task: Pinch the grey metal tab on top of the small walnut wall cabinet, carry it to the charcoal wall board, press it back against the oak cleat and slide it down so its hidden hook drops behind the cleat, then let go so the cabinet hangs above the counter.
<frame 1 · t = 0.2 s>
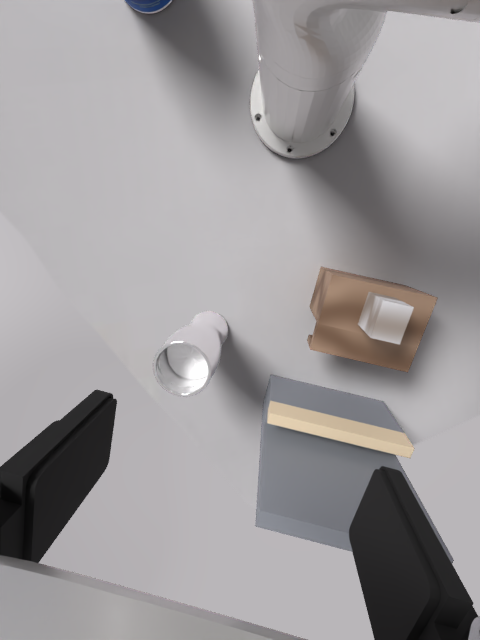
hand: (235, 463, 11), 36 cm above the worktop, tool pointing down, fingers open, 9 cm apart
beer glass: (209, 329, 48), on the worktop
walnut cabinet: (356, 296, 44), on the worktop
wall board: (321, 403, 49), on the worktop
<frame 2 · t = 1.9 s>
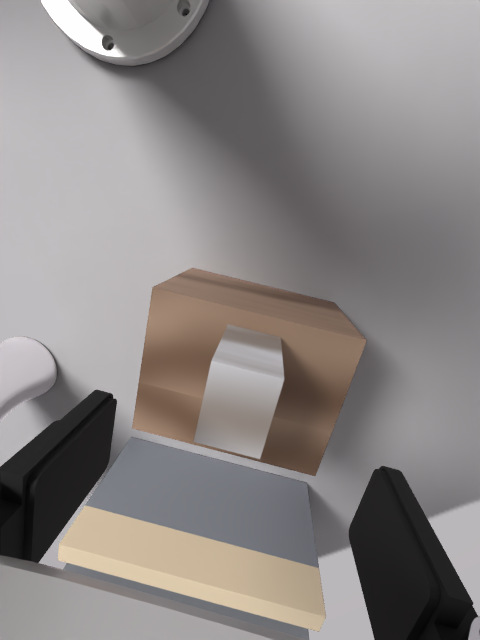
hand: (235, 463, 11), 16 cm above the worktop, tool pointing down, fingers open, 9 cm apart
beer glass: (29, 364, 30), on the worktop
walnut cabinet: (254, 318, 26), on the worktop
wall board: (212, 481, 31), on the worktop
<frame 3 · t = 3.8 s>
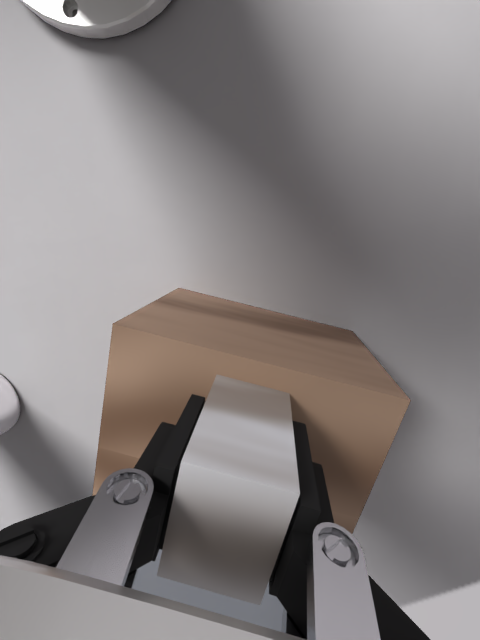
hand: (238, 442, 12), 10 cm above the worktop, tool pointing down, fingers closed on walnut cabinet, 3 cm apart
walnut cabinet: (254, 349, 22), on the worktop, touching gripper
wall board: (204, 536, 26), on the worktop
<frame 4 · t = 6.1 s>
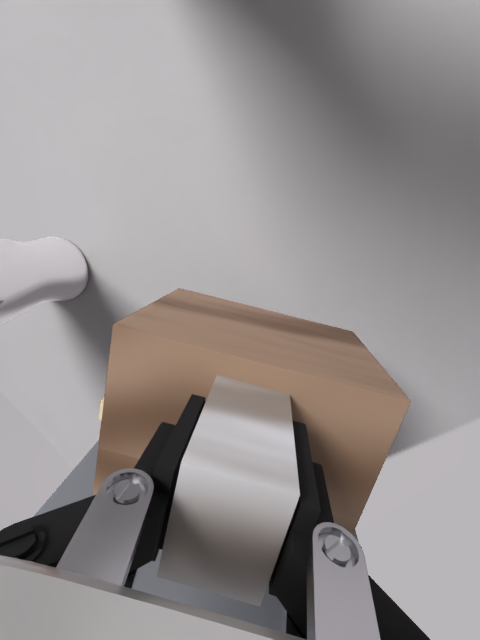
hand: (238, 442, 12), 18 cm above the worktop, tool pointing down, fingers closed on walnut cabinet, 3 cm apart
beer glass: (60, 268, 30), on the worktop
walnut cabinet: (254, 350, 22), point 8 cm above the worktop, touching gripper
wall board: (240, 391, 31), on the worktop
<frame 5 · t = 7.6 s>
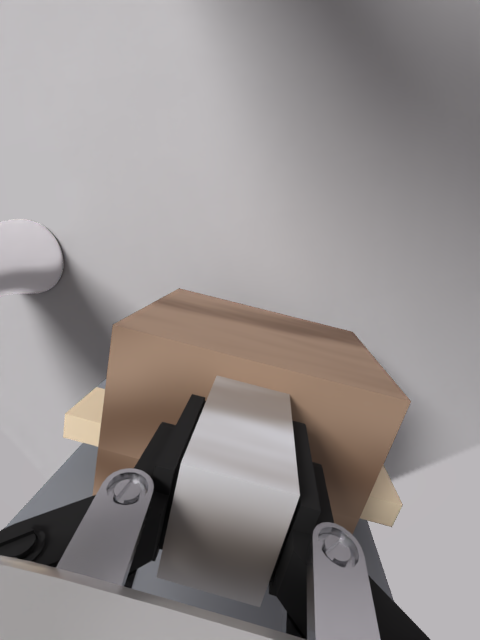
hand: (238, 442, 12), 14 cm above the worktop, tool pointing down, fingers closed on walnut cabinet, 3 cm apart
beer glass: (31, 256, 26), on the worktop
walnut cabinet: (254, 350, 22), point 4 cm above the worktop, touching gripper
wall board: (240, 397, 27), on the worktop
when the fingers open (13 cm above the worktop, at t = 8.8 s): walnut cabinet stays where it is, resting on wall board.
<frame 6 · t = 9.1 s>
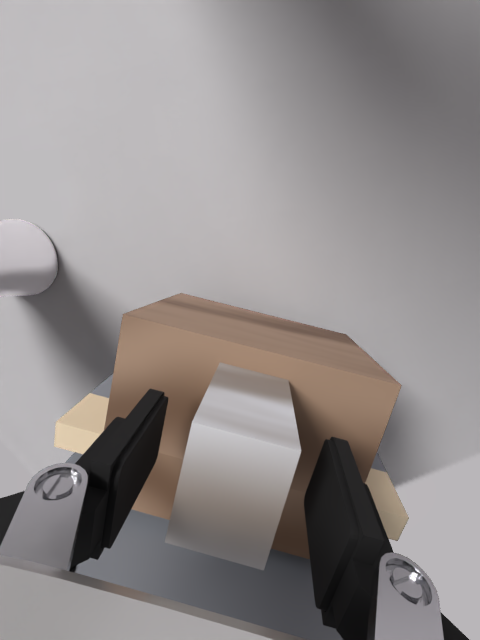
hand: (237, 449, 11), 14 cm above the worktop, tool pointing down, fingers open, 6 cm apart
beer glass: (25, 257, 25), on the worktop
walnut cabinet: (252, 353, 22), point 3 cm above the worktop, touching wall board
wall board: (239, 402, 27), on the worktop
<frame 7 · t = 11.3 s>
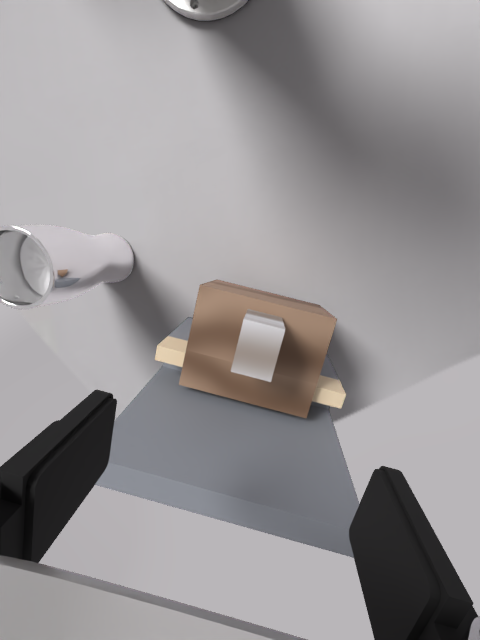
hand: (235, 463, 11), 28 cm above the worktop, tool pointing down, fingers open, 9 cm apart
beer glass: (112, 257, 39), on the worktop
walnut cabinet: (261, 317, 36), point 3 cm above the worktop, touching wall board
wall board: (251, 354, 40), on the worktop
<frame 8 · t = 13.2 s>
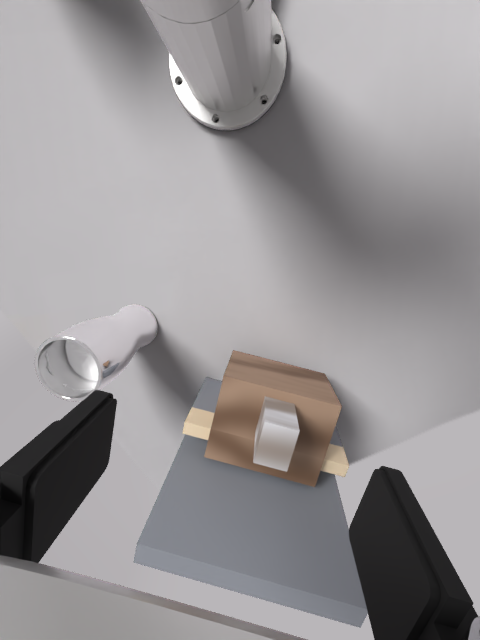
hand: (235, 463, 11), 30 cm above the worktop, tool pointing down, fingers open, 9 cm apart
beer glass: (137, 324, 43), on the worktop
walnut cabinet: (272, 383, 40), point 3 cm above the worktop, touching wall board
wall board: (263, 409, 44), on the worktop
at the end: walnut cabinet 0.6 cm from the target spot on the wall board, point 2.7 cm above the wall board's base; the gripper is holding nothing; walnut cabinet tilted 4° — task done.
